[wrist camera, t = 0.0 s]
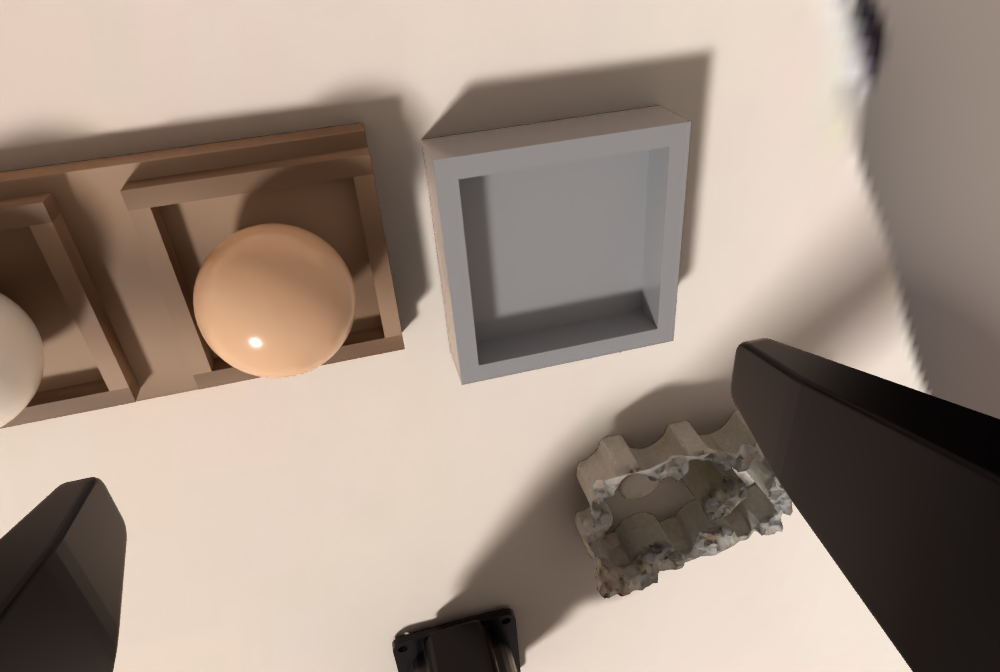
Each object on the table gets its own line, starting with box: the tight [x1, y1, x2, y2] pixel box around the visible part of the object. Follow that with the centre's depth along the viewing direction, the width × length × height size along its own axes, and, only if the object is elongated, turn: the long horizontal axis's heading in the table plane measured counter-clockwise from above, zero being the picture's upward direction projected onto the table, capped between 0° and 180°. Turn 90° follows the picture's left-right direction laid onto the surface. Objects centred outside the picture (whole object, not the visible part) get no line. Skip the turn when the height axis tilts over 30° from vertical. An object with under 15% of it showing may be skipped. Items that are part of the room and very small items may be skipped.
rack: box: [0, 123, 405, 429], centre depth 21 cm, size 8×16×2 cm, turn 94°
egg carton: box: [575, 410, 792, 598], centre depth 32 cm, size 11×8×4 cm
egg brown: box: [193, 223, 356, 378], centre depth 20 cm, size 5×5×5 cm
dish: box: [422, 105, 691, 385], centre depth 24 cm, size 8×8×2 cm
